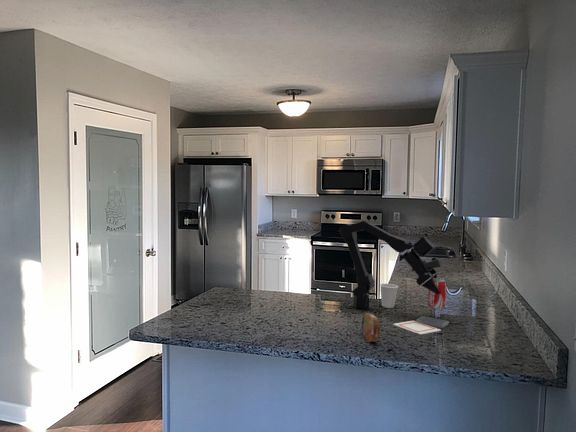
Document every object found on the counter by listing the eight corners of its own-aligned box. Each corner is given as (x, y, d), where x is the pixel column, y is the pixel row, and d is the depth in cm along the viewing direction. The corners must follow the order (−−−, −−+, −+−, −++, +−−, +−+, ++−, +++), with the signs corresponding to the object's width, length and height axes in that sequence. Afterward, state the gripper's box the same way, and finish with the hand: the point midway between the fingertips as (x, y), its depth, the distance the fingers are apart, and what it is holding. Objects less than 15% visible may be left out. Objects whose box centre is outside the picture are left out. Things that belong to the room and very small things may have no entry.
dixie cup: (385, 303, 219) (386, 282, 218) (400, 307, 213) (401, 285, 212) (375, 305, 213) (376, 284, 212) (390, 309, 207) (391, 287, 206)
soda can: (444, 310, 188) (446, 282, 186) (427, 308, 190) (428, 280, 189) (445, 306, 194) (447, 278, 193) (427, 304, 197) (429, 277, 195)
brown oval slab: (360, 331, 170) (362, 309, 170) (368, 332, 171) (370, 309, 170) (371, 345, 155) (372, 321, 155) (380, 345, 156) (381, 321, 155)
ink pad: (415, 322, 187) (416, 319, 187) (422, 318, 194) (422, 315, 194) (442, 328, 181) (442, 325, 181) (448, 324, 187) (449, 321, 187)
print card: (392, 324, 182) (392, 323, 182) (413, 321, 189) (413, 320, 189) (420, 334, 171) (420, 333, 171) (441, 330, 177) (441, 329, 177)
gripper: (426, 253, 184) (453, 284, 180) (434, 249, 201) (458, 277, 196) (405, 270, 188) (431, 300, 183) (414, 264, 204) (438, 292, 200)
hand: (440, 292), depth 191 cm, fingers closed on soda can, 7 cm apart
